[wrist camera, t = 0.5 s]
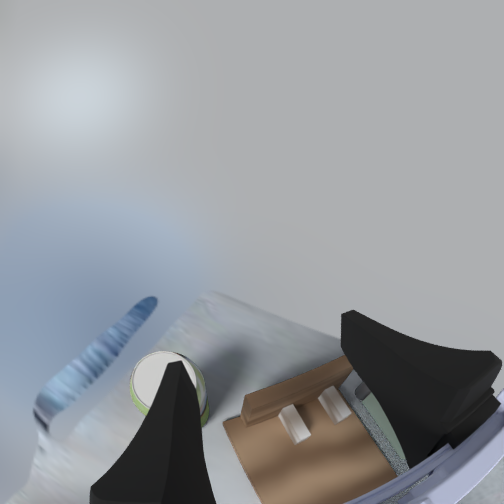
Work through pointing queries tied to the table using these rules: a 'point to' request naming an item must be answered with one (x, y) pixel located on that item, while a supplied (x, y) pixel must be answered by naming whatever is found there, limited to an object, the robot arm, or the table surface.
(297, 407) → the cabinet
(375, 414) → the green piece
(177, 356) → the beverage can
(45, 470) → the table surface
